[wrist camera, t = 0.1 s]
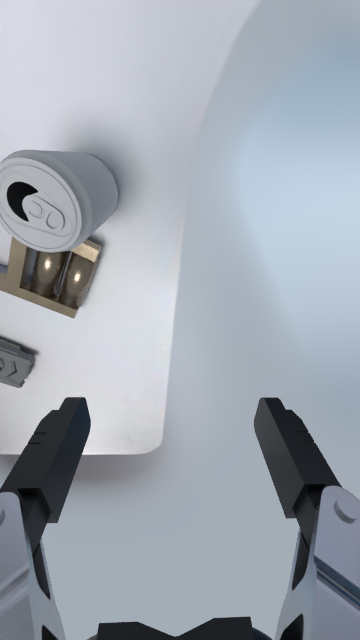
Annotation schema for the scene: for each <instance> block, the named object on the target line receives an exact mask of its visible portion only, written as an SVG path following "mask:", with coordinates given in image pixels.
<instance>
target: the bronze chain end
mask: <svg viewBox="0 0 360 640" xmlns="http://www.w3.org/2000/svg"><path fill="white" fill-rule="evenodd" d="M101 248H102V246H100V245H98V244H96V243H94V242H92V241H90V240H88V239H86V240H85V241H84V242H83V243H82V244H81V245H79V246H78V247H76V248H74V249H72V250H70V251H72V255H71V259H70V262H69V265H68V269H67V272H66V275H65V279H64V282H63V285H62V289H61V292H60V295H56V293H57V289H58V286H59V283H60V279H61V276H62V272H63V269H64V265H65V262H66V258H67V255H68V252H69V250H68V251H62V252H43V251H38V253H37V258H36V262H35V267H34V272H33V277H32V281H31V284H29V283H27V282H26V278H27V273H28V268H29V263H30V258H31V253H32V248H30V247H28V246H26V245H24V244H22V243H21V242H19V241H18V240H17V239H15V238H14V237H13V236H12V242H11V249H10V256H9V263H8V270H7V274H5V273H2V272H0V290H1V291H4V292H6V293H9V294H12V295H14V296H17V297H19V298H22V299H25V300H27V301H30V302H32V303H35V304H38V305H40V306H43V307H45V308H48V309H51V310H53V311H56V312H58V313H61V314H64V315H66V316H69V317H71V318H75V316H76V314H77V313H78V310H79V307H81V306H82V304H83V301H84V299H85V296H86V293H87V291H88V288H89V285H90V283H91V280H92V277H93V275H94V272H95V270H96V267H97V264H98V262H99V259H100V255H99V254H100V251H101Z"/></svg>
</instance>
